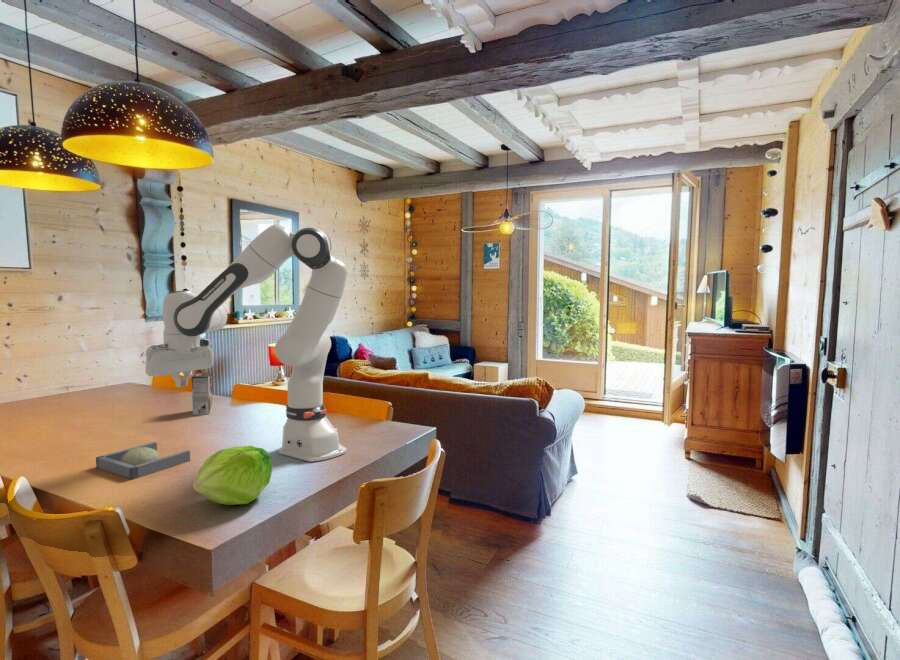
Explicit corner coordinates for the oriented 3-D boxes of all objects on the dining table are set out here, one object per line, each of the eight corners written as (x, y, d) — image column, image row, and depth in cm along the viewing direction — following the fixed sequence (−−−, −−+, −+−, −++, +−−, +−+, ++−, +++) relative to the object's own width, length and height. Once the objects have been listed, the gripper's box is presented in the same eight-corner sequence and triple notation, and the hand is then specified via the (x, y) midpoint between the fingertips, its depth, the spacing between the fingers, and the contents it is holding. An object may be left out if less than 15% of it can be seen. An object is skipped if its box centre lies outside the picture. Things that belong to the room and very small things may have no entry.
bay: (154, 450, 150) (153, 441, 150) (190, 460, 142) (189, 450, 142) (96, 467, 136) (95, 457, 136) (132, 479, 128) (132, 468, 127)
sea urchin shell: (153, 450, 146) (158, 435, 141) (159, 473, 142) (164, 459, 137) (116, 457, 139) (120, 442, 134) (121, 481, 135) (125, 467, 131)
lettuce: (175, 516, 108) (173, 455, 110) (249, 497, 125) (246, 444, 128) (217, 514, 101) (214, 449, 103) (289, 494, 119) (285, 439, 121)
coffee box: (196, 410, 203) (195, 372, 201) (213, 409, 205) (212, 372, 203) (192, 415, 194) (191, 376, 193) (209, 414, 196) (208, 376, 195)
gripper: (152, 346, 137) (154, 393, 138) (215, 340, 155) (216, 381, 156) (139, 345, 139) (141, 391, 141) (203, 339, 158) (204, 380, 159)
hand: (181, 386), depth 148 cm, fingers closed
